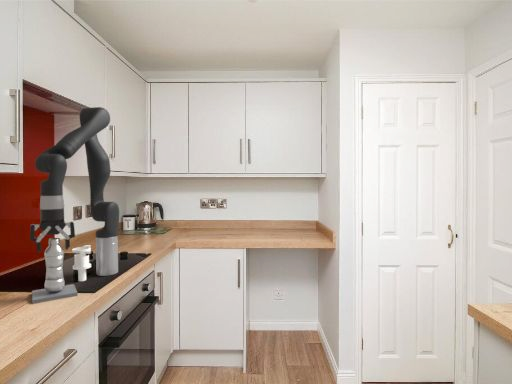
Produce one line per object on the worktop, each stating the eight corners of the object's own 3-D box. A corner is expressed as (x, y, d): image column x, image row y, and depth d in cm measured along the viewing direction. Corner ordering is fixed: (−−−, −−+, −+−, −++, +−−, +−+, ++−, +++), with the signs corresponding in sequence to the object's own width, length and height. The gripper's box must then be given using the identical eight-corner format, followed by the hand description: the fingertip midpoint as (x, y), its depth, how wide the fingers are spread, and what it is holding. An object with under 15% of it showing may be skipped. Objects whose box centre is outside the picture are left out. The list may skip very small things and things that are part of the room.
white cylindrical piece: (91, 281, 140) (91, 246, 139) (73, 283, 137) (72, 248, 136) (90, 276, 146) (90, 243, 146) (72, 279, 143) (72, 245, 142)
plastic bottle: (52, 295, 119) (52, 240, 119) (40, 292, 122) (39, 239, 122) (68, 289, 125) (68, 237, 125) (56, 287, 128) (56, 236, 128)
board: (32, 293, 125) (31, 290, 124) (73, 286, 133) (73, 284, 132) (32, 303, 115) (32, 300, 115) (77, 295, 123) (77, 292, 123)
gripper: (72, 206, 129) (73, 246, 130) (29, 207, 121) (30, 251, 122) (75, 207, 123) (76, 250, 124) (29, 209, 115) (30, 255, 116)
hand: (53, 250), depth 123 cm, fingers open, 8 cm apart
